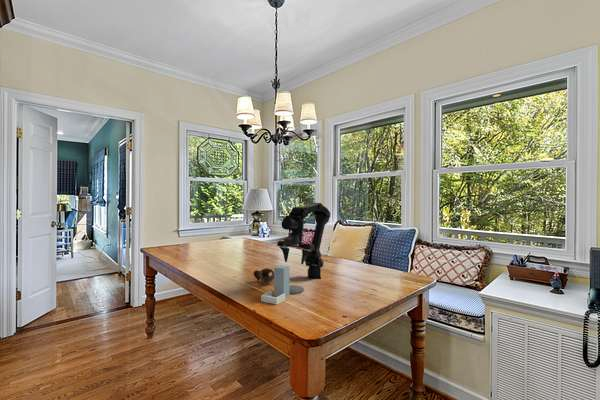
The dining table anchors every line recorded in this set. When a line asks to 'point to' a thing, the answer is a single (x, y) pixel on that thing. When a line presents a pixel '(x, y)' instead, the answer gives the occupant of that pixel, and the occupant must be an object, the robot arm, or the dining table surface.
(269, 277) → the pottery mug
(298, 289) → the rubber mat
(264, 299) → the acrylic channel
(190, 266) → the dining table surface
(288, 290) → the painted block
